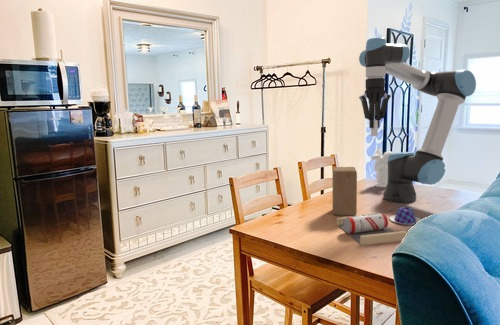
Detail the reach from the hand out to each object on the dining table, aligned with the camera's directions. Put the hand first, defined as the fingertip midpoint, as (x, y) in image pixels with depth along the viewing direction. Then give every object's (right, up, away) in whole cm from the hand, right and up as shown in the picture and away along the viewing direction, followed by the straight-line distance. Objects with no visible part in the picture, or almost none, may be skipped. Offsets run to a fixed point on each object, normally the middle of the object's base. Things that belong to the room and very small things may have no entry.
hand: (374, 135), depth 154 cm
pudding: (+12, -35, -2) cm, 37 cm away
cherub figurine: (+22, -25, +55) cm, 64 cm away
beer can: (-16, -35, -15) cm, 41 cm away
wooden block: (-10, -34, +11) cm, 37 cm away
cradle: (-6, -37, -13) cm, 40 cm away
